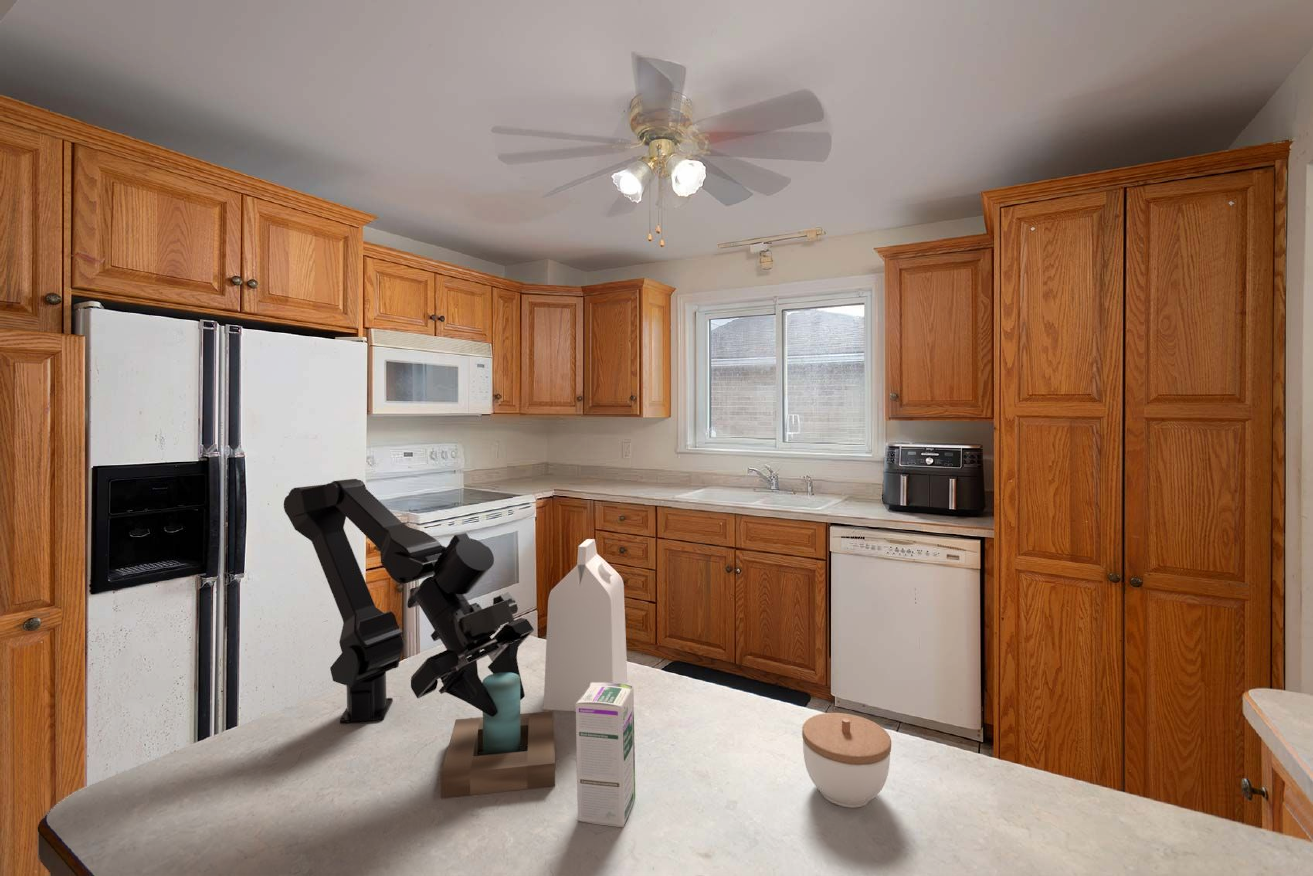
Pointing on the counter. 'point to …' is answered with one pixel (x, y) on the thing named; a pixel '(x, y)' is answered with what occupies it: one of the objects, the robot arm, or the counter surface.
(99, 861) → the counter surface
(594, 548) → the milk
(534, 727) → the walnut socket block
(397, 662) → the robot arm
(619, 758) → the syrup box
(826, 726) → the lidded jar
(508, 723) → the teal peg
